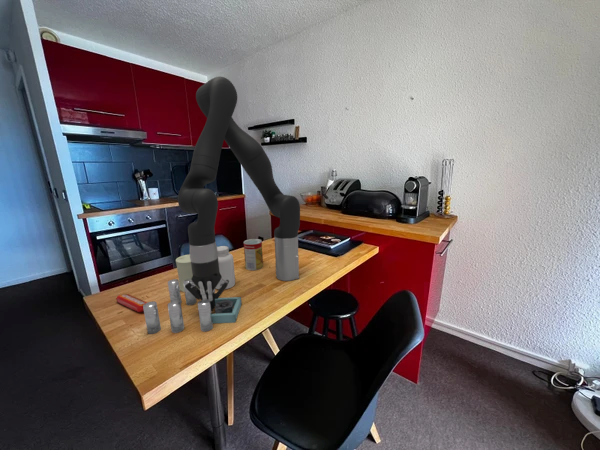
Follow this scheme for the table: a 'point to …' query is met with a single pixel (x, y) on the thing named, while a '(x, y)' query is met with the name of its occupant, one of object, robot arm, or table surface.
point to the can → (184, 270)
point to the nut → (224, 307)
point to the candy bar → (131, 302)
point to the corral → (227, 316)
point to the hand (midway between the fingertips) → (210, 310)
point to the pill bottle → (226, 266)
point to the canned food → (253, 254)
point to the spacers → (177, 310)
